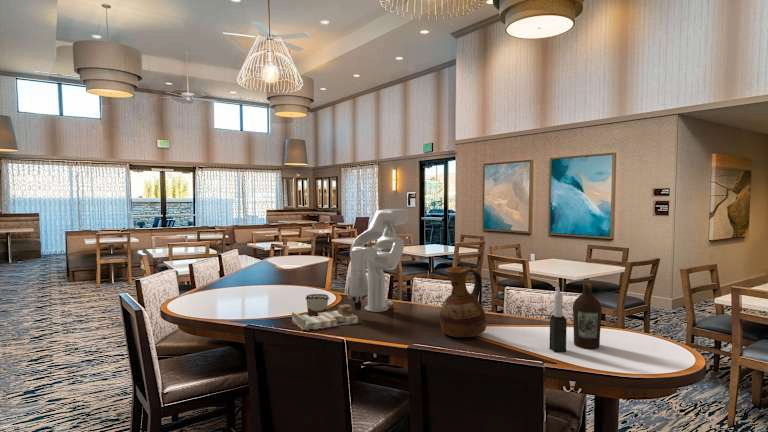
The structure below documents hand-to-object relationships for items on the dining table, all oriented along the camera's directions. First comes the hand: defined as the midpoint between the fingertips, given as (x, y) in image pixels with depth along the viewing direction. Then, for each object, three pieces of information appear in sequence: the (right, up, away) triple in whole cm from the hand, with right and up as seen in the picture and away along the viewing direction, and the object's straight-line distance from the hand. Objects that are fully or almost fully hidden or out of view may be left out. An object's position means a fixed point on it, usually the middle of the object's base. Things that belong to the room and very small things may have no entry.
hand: (357, 309), depth 214 cm
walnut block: (-6, -1, -3) cm, 7 cm away
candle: (+81, -6, -46) cm, 94 cm away
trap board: (-15, -4, -8) cm, 18 cm away
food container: (-21, -4, +8) cm, 23 cm away
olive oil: (+95, -6, -40) cm, 104 cm away
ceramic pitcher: (+48, -5, -26) cm, 55 cm away
